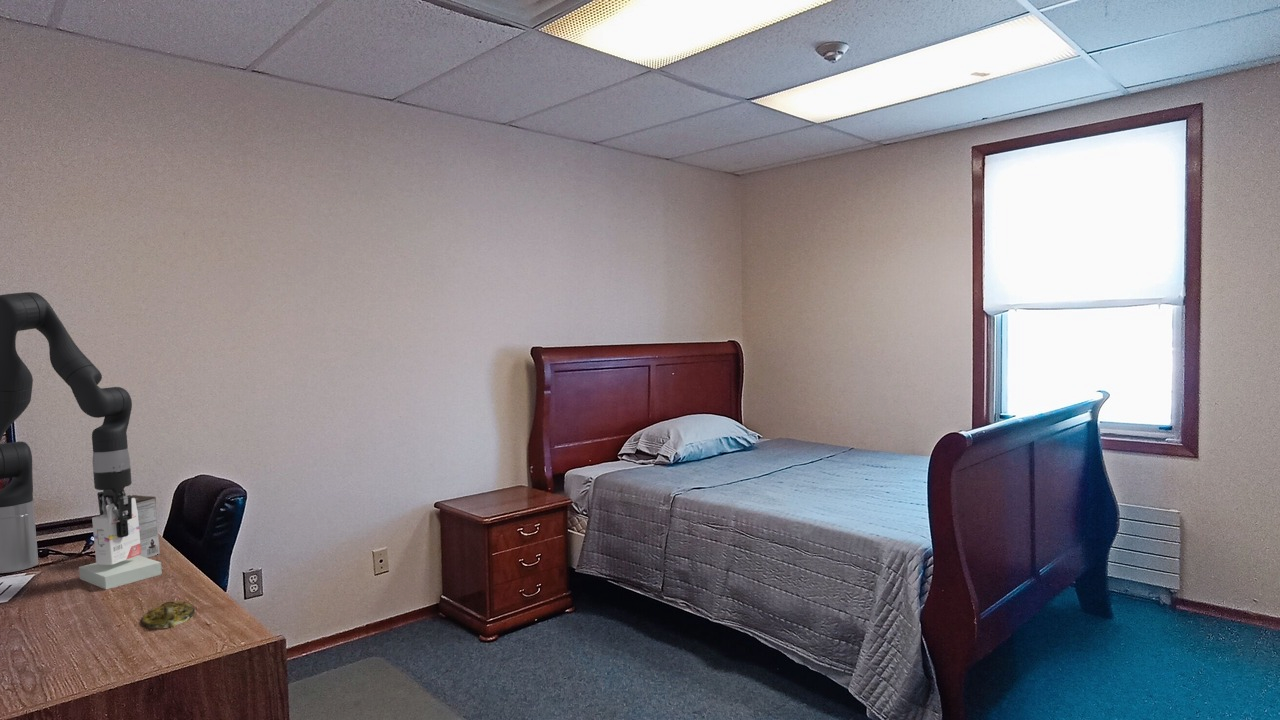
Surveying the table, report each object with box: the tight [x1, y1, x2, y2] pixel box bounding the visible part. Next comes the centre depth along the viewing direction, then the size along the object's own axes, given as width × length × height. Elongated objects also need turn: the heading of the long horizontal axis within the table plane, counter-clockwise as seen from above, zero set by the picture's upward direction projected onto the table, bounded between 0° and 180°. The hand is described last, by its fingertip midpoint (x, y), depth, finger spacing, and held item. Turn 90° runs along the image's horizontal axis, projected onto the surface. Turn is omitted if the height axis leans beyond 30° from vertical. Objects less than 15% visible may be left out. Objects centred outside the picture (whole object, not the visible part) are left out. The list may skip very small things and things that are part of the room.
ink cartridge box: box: [91, 498, 141, 565], centre depth 184 cm, size 9×5×15 cm, turn 168°
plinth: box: [78, 555, 163, 590], centre depth 184 cm, size 16×12×3 cm
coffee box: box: [131, 494, 160, 559], centre depth 201 cm, size 9×6×16 cm
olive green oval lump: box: [142, 601, 196, 629], centre depth 155 cm, size 9×5×15 cm
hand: (117, 534), depth 184 cm, fingers closed on ink cartridge box, 6 cm apart
